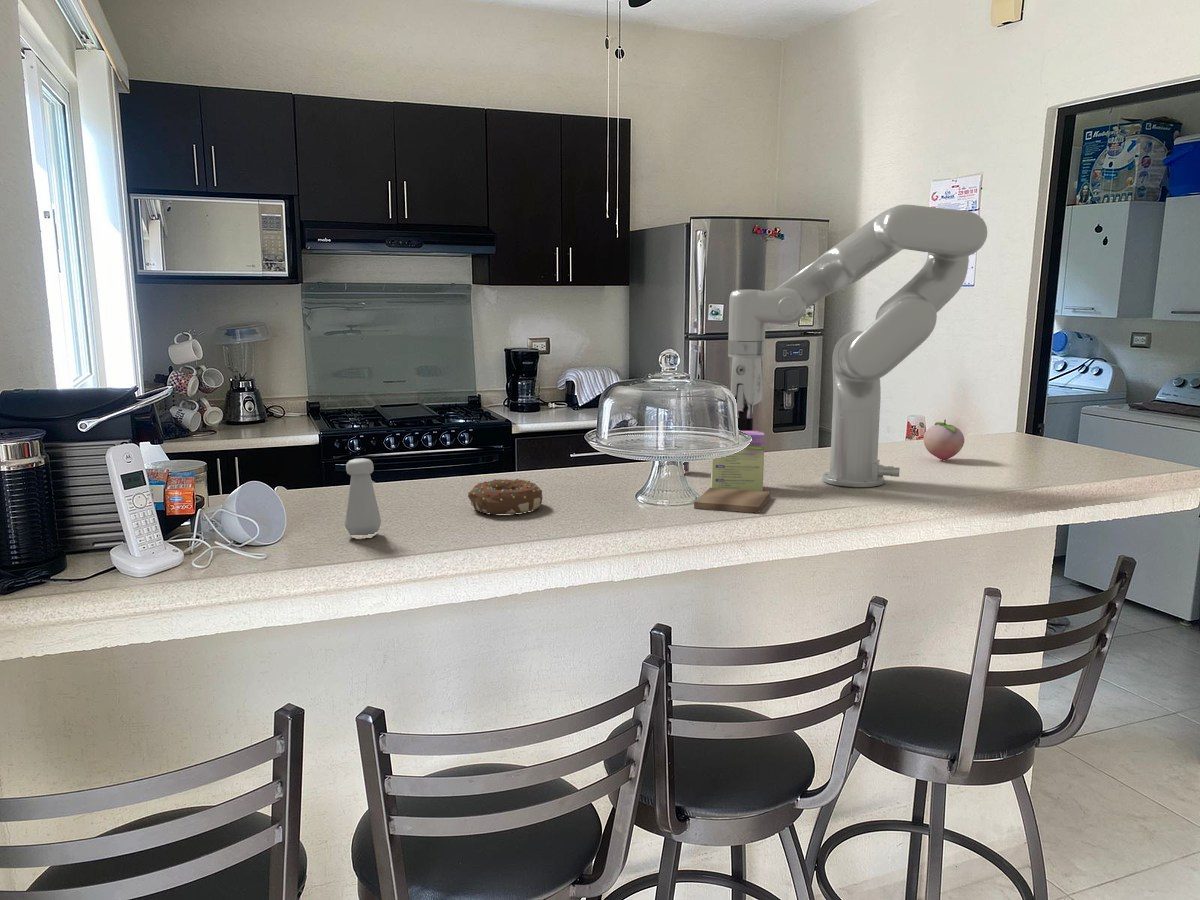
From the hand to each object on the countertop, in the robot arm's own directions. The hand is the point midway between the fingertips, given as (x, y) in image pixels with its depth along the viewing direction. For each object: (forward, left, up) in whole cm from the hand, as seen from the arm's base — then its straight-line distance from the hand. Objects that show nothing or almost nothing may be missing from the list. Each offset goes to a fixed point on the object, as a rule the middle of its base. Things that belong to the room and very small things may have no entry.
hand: (744, 436), depth 181 cm
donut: (+37, +39, -10) cm, 55 cm away
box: (0, +7, -10) cm, 13 cm away
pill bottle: (+16, -5, -10) cm, 19 cm away
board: (-2, +20, -10) cm, 23 cm away
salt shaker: (+51, +63, -10) cm, 82 cm away
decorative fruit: (-40, -38, -10) cm, 56 cm away
